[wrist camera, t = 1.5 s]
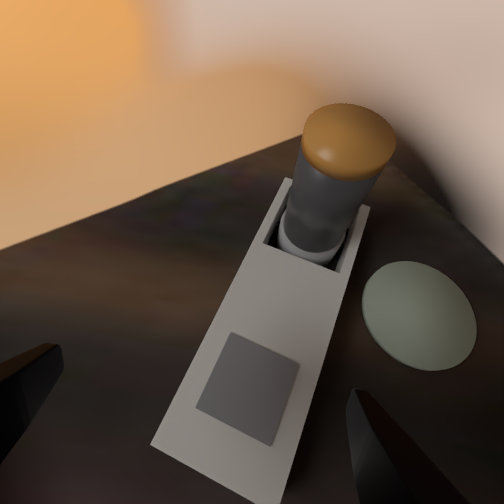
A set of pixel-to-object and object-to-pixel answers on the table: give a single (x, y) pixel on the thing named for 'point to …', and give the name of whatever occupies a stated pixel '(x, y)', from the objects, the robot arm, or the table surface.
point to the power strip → (259, 366)
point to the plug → (333, 178)
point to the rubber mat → (418, 316)
